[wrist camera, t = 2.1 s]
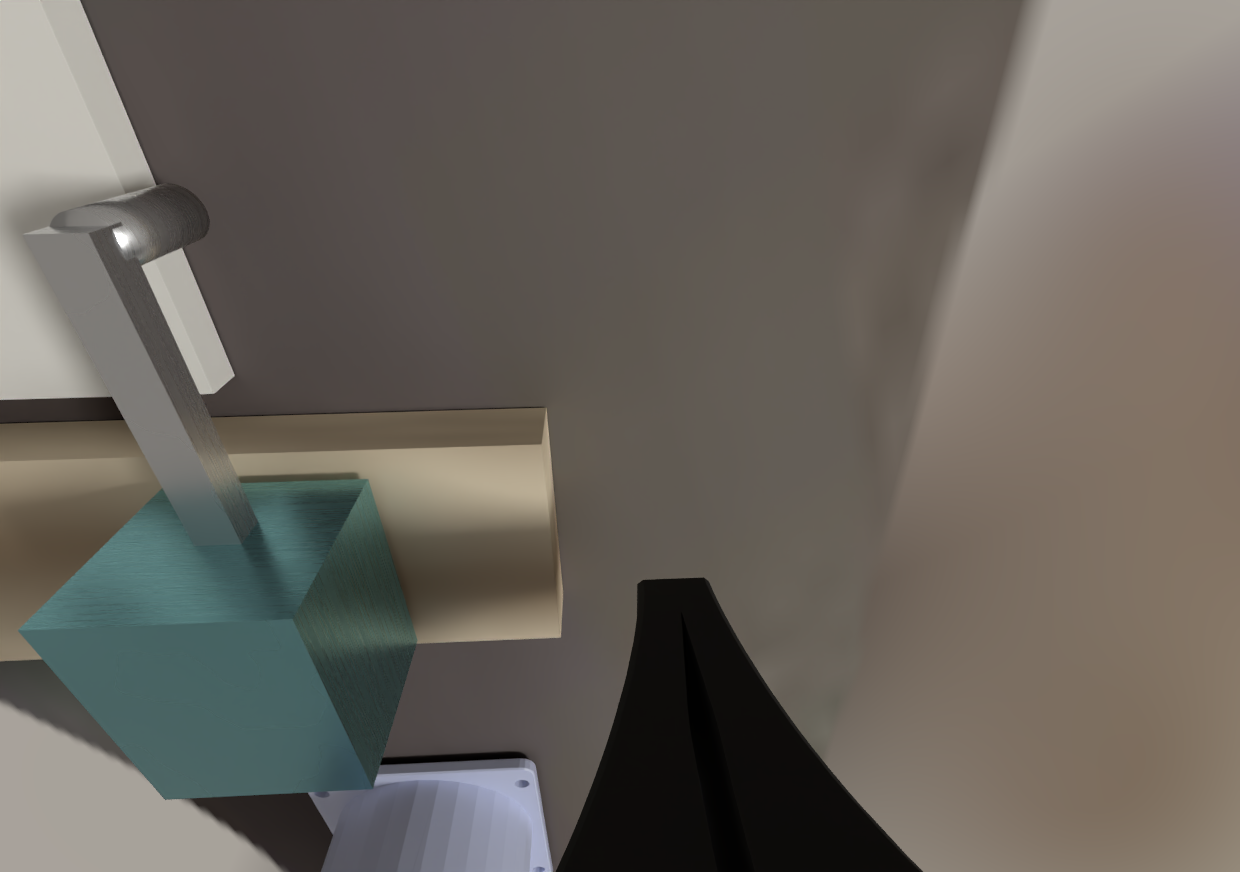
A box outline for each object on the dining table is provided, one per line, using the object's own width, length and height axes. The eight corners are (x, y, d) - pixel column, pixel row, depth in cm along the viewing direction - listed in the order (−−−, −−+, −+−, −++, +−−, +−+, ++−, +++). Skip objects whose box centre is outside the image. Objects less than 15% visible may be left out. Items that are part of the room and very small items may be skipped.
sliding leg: (423, 620, 15) (372, 789, 11) (264, 627, 15) (164, 799, 11) (296, 181, 9) (119, 251, 6) (36, 185, 9) (-307, 259, 6)
